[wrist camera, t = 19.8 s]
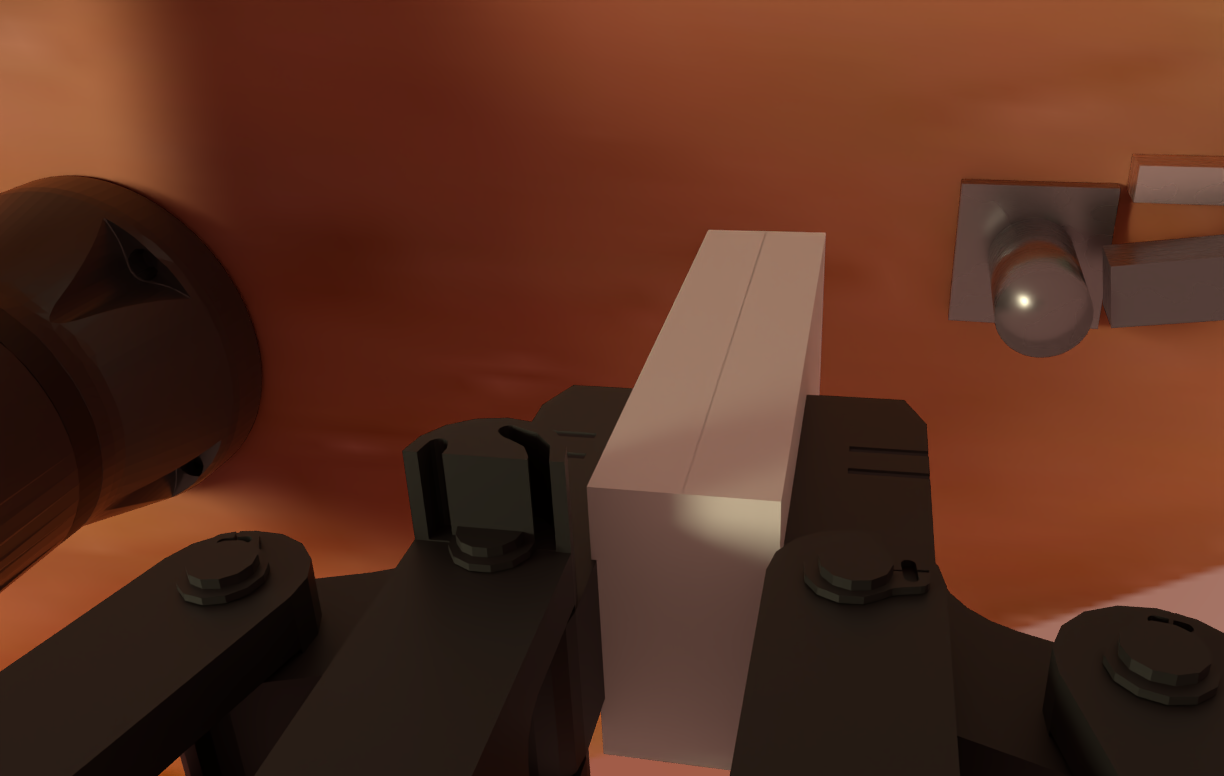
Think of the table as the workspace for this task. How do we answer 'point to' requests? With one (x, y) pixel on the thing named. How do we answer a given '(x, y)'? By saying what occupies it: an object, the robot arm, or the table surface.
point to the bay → (1177, 179)
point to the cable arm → (1164, 281)
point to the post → (1032, 260)
